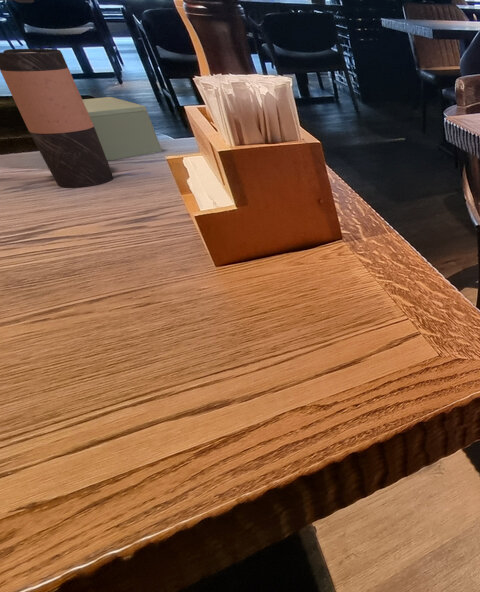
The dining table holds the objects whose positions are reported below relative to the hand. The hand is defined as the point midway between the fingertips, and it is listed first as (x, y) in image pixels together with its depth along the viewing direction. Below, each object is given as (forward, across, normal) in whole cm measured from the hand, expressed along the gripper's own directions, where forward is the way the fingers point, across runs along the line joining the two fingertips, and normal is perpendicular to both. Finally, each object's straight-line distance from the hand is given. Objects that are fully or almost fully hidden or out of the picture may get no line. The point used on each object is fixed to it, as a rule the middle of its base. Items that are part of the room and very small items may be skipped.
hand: (15, 1), depth 84 cm
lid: (+17, 0, +3) cm, 18 cm away
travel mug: (+26, +14, -5) cm, 30 cm away
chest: (+26, 0, +4) cm, 26 cm away
